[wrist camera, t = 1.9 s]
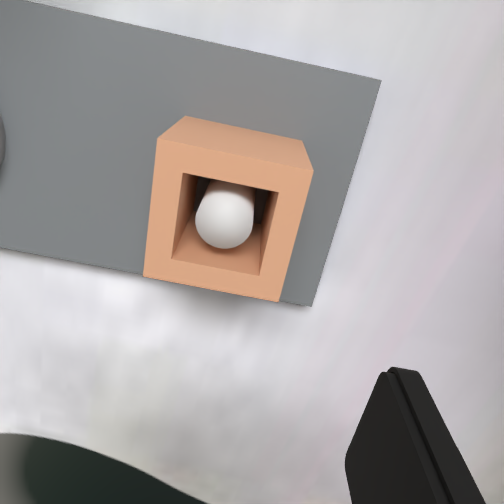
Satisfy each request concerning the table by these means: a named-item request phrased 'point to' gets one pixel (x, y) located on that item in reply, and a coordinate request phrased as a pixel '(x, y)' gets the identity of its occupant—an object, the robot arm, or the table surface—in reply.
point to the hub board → (156, 136)
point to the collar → (235, 171)
